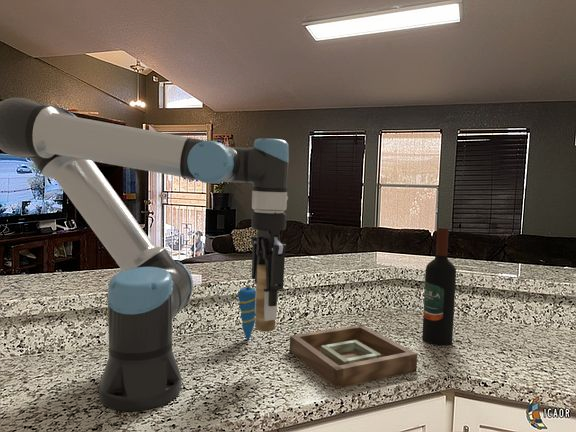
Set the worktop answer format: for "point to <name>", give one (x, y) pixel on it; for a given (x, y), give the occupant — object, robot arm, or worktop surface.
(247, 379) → the worktop surface
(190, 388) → the worktop surface
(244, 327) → the ornament
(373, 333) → the box
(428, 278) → the wine bottle
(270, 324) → the peg
